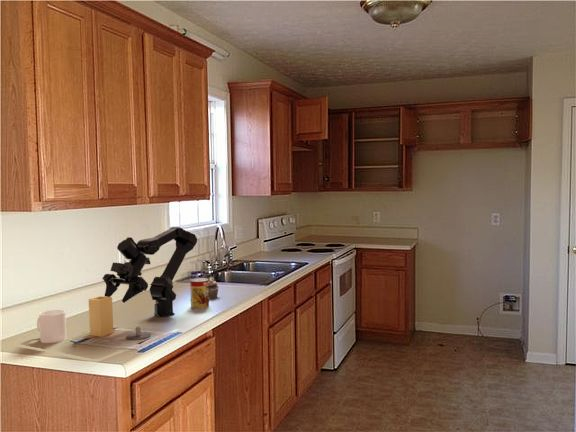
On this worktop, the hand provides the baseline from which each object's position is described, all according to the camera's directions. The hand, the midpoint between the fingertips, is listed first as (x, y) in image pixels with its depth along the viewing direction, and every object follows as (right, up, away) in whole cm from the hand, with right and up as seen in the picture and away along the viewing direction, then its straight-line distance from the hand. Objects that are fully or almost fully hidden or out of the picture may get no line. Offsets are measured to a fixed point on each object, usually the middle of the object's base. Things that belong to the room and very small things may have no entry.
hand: (113, 300), depth 188 cm
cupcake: (+26, -8, +56) cm, 63 cm away
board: (+5, -12, -7) cm, 14 cm away
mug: (-19, -13, -10) cm, 25 cm away
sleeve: (-3, -11, -5) cm, 12 cm away
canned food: (+25, -9, +38) cm, 46 cm away
